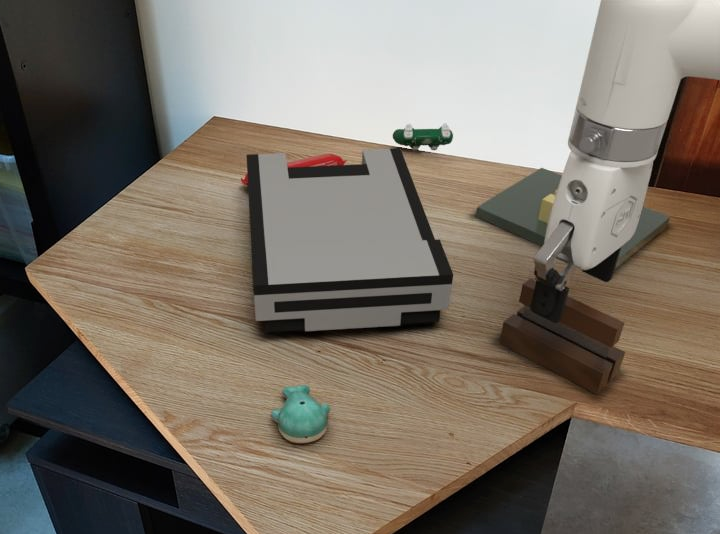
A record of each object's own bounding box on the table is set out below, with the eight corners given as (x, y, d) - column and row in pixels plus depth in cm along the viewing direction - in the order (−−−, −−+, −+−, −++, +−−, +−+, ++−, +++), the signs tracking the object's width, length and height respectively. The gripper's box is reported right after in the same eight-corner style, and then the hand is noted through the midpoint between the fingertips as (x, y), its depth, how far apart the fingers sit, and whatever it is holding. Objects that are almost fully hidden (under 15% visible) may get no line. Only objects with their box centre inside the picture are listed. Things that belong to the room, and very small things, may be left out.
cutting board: (667, 226, 104) (670, 216, 103) (607, 275, 96) (610, 265, 95) (539, 176, 114) (541, 167, 113) (475, 216, 106) (476, 206, 105)
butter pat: (576, 226, 101) (581, 205, 99) (567, 232, 100) (572, 211, 98) (546, 213, 103) (550, 193, 101) (538, 219, 102) (542, 199, 100)
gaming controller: (392, 156, 123) (397, 143, 117) (391, 132, 123) (396, 118, 117) (450, 155, 123) (458, 142, 117) (449, 131, 123) (457, 117, 117)
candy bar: (349, 155, 112) (349, 175, 114) (338, 145, 115) (337, 164, 117) (247, 179, 107) (248, 199, 109) (236, 168, 109) (238, 187, 111)
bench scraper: (606, 378, 82) (625, 322, 77) (599, 385, 81) (617, 329, 76) (518, 332, 87) (530, 277, 82) (510, 338, 86) (522, 283, 81)
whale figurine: (274, 451, 73) (273, 423, 71) (267, 398, 79) (266, 370, 76) (335, 445, 74) (336, 416, 72) (325, 393, 79) (324, 365, 77)
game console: (397, 194, 110) (401, 139, 104) (445, 336, 86) (453, 274, 81) (249, 201, 108) (245, 145, 103) (257, 347, 85) (253, 285, 79)
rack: (618, 373, 82) (625, 351, 80) (596, 395, 80) (603, 373, 78) (522, 324, 88) (526, 303, 86) (498, 343, 86) (503, 321, 84)
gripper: (604, 180, 60) (557, 351, 72) (701, 116, 70) (646, 276, 81) (522, 149, 64) (490, 316, 75) (625, 92, 73) (582, 248, 85)
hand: (571, 295), depth 78 cm, fingers open, 9 cm apart
